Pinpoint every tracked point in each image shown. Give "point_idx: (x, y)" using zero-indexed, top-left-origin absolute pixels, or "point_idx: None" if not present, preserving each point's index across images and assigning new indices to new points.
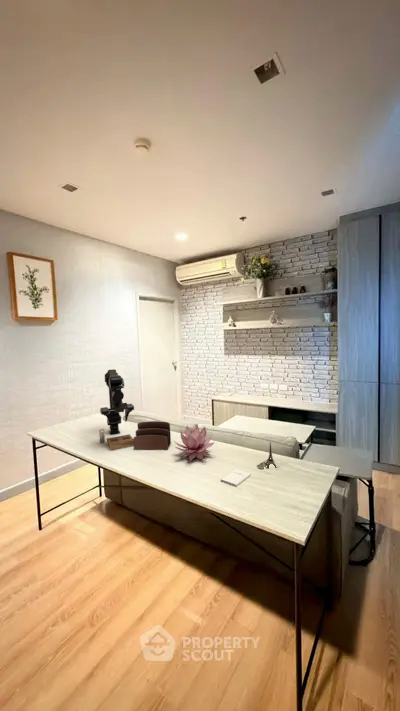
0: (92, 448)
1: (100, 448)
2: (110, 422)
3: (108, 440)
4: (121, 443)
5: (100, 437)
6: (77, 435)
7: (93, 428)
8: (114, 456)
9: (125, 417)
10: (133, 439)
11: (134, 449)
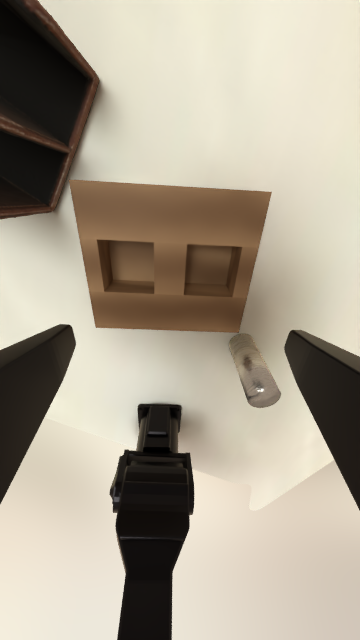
0: (312, 298)
1: (282, 273)
2: (314, 343)
3: (242, 294)
4: (179, 186)
5: (262, 358)
6: (284, 447)
7: (215, 472)
8: (280, 18)
9: (36, 387)
10: (56, 24)
11: (94, 73)
